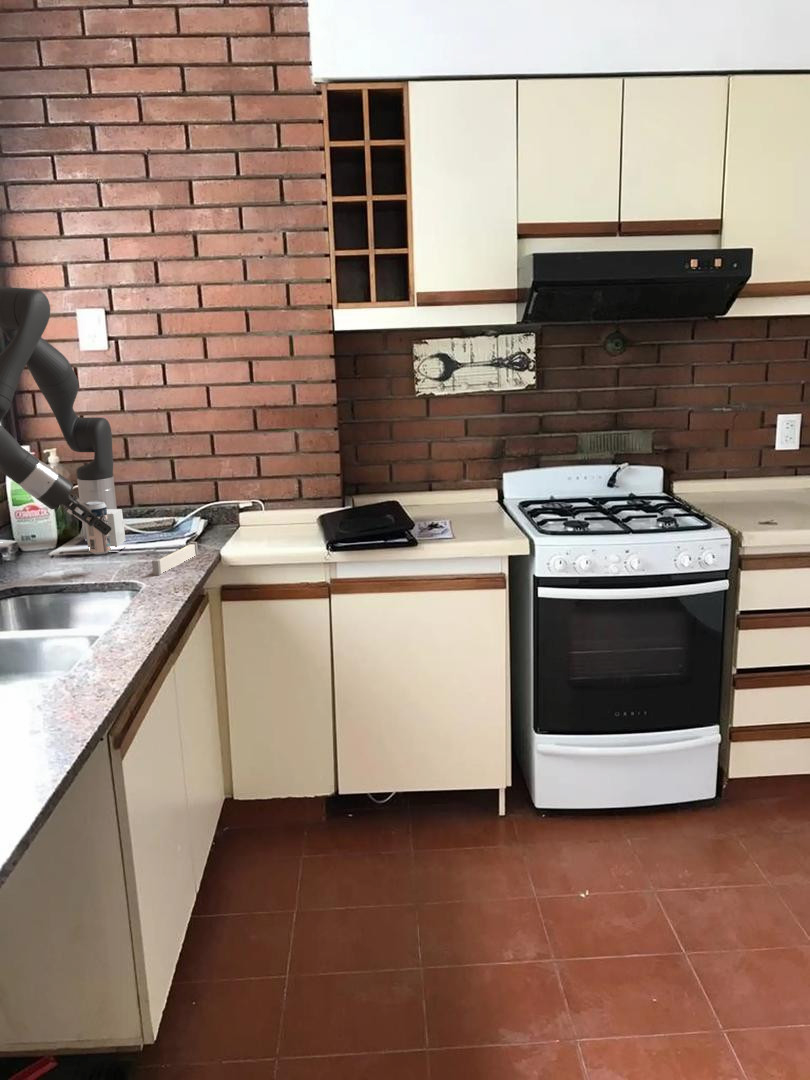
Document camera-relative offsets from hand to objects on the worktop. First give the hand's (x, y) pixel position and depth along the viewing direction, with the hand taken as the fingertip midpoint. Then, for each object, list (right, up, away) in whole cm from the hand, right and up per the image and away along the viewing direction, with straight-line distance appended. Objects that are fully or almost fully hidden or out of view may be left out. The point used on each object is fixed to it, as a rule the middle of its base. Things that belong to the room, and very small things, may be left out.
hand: (106, 529), depth 200 cm
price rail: (+15, -9, +7) cm, 18 cm away
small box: (-7, -5, +22) cm, 23 cm away
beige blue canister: (-2, -6, +1) cm, 6 cm away
